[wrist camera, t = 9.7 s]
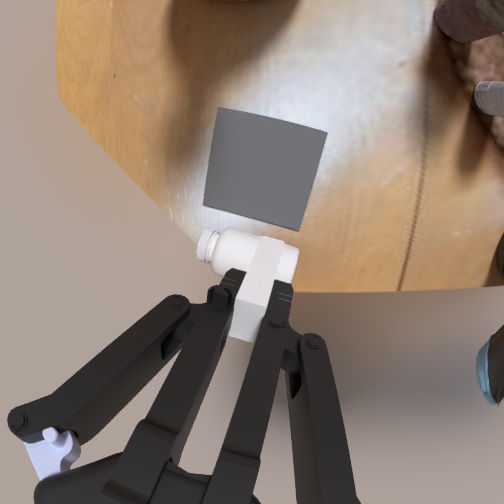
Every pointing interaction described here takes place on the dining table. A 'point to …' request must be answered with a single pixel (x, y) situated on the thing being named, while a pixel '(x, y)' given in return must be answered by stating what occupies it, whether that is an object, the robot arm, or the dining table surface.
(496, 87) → the energy drink
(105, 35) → the dining table surface
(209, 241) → the pill bottle
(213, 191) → the mat
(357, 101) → the dining table surface
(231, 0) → the ceramic pitcher
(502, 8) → the candle
